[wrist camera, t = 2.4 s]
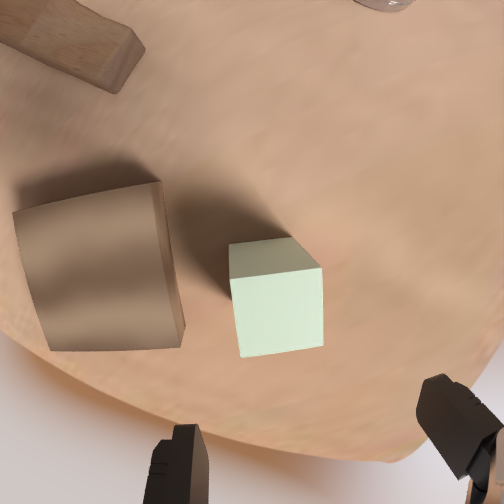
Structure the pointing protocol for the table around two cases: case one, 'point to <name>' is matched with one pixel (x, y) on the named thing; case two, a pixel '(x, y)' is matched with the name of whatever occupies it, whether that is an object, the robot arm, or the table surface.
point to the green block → (275, 296)
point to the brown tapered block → (102, 271)
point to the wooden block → (72, 40)
